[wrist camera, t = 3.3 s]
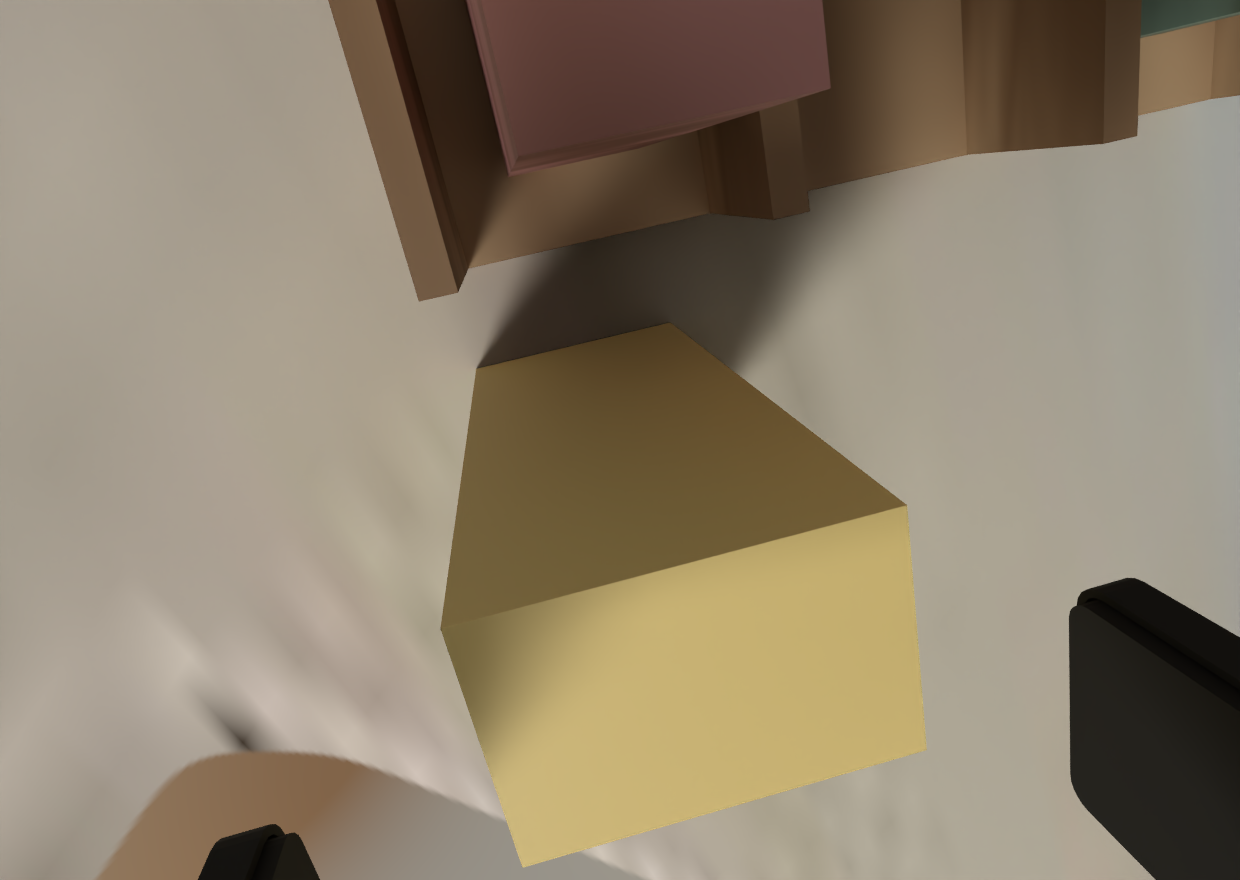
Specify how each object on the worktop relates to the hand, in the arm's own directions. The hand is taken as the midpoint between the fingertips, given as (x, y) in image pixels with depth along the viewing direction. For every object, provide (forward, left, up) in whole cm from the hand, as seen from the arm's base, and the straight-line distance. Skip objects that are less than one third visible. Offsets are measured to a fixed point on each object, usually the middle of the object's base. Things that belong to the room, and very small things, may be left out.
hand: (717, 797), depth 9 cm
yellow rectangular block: (0, 0, -15) cm, 15 cm away
